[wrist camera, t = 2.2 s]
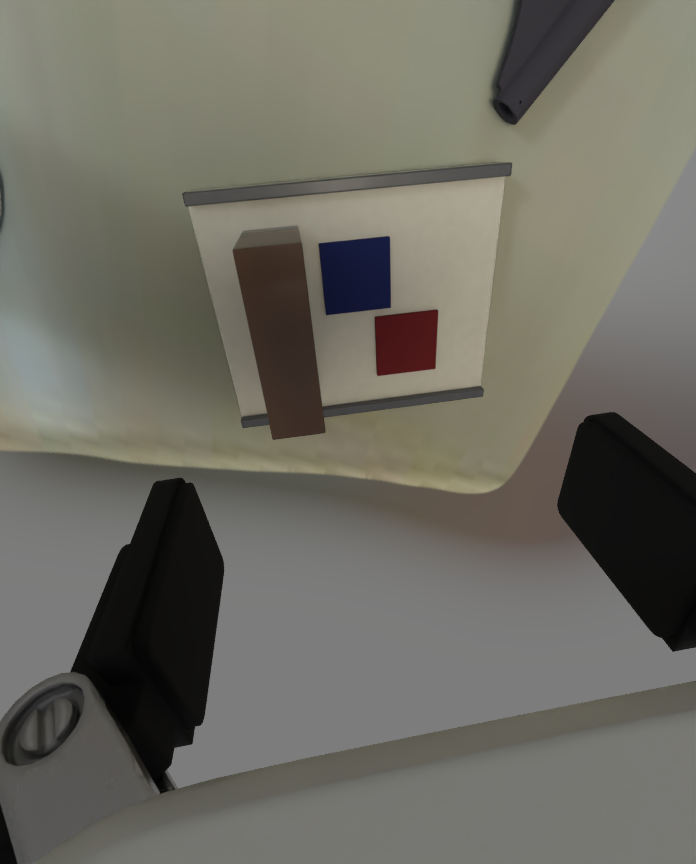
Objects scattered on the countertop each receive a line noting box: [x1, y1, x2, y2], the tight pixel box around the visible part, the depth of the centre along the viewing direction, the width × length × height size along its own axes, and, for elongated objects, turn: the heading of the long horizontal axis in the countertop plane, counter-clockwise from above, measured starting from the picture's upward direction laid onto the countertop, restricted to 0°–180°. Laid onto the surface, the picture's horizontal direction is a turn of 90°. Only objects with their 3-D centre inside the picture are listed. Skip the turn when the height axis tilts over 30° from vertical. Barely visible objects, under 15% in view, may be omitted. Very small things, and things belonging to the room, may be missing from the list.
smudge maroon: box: [375, 309, 438, 376], centre depth 27 cm, size 4×4×1 cm
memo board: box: [182, 162, 512, 428], centre depth 26 cm, size 17×14×2 cm
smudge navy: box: [319, 236, 391, 315], centre depth 24 cm, size 4×4×1 cm
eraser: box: [232, 225, 325, 440], centre depth 23 cm, size 3×10×6 cm, turn 4°
